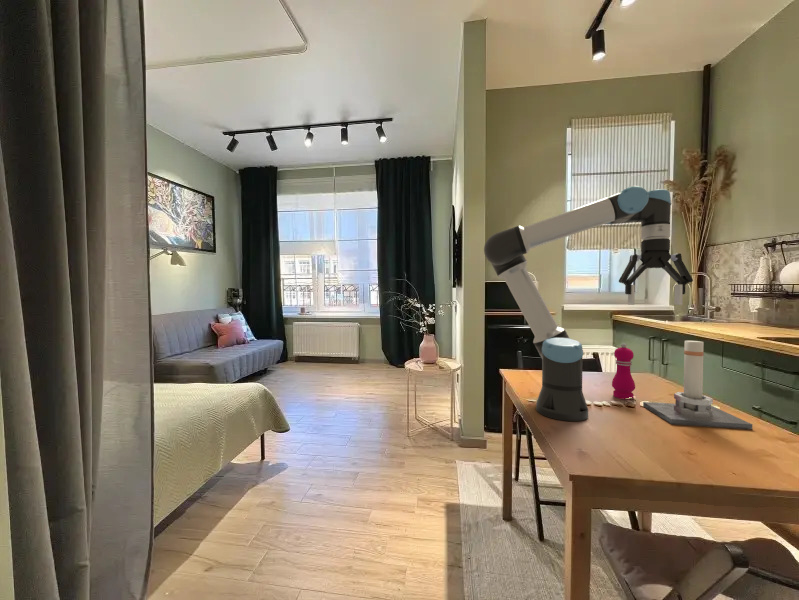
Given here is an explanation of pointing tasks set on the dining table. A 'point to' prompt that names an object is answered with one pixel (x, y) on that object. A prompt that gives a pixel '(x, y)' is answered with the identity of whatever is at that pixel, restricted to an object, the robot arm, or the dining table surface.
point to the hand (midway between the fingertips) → (654, 304)
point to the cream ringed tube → (693, 371)
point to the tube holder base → (695, 413)
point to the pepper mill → (623, 373)
